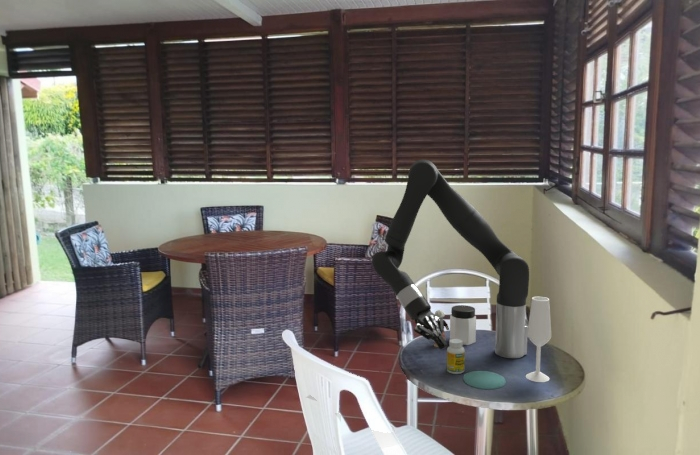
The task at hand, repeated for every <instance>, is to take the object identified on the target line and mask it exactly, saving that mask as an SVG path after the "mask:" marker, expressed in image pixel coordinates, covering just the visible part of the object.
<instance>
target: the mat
mask: <svg viewBox="0 0 700 455" xmlns="http://www.w3.org/2000/svg"><path fill="white" fill-rule="evenodd" d="M462 380H463V382H465V384H467V385H468V386H470V387H473V388H476V389H482V390H496V389H500V388H503V387H504V386H505V385H506V383H507V382H506V378H505V377H504V376H503V375H501V374H498V373H496V372H492V371H487V370H475V371H474V370H473V371H469V372H467V373H465V374H464V375H463V378H462Z"/></svg>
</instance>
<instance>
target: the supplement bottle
mask: <svg viewBox="0 0 700 455" xmlns="http://www.w3.org/2000/svg"><path fill="white" fill-rule="evenodd" d="M448 344H449V346H447V347H446V371H447V372H448V373H449V374H454V375H459V374H463V373H464V372H465V367H466V366H465V360H466V358H465V356H466V350H465V348H464V345H463V341H462V340H460V339H451V340H450V339H449V343H448Z"/></svg>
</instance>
